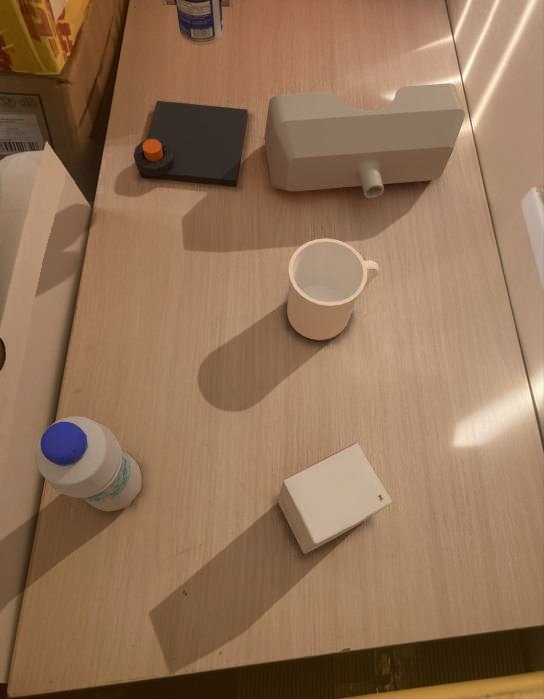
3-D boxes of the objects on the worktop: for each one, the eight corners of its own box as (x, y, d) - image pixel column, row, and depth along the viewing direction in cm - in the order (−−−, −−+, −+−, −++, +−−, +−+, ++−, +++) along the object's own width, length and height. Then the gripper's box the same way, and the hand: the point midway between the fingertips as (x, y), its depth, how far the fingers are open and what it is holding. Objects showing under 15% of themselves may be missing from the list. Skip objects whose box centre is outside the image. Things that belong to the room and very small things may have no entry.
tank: (277, 229, 75) (282, 164, 64) (263, 142, 81) (265, 70, 70) (449, 214, 77) (484, 149, 66) (423, 131, 84) (450, 58, 72)
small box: (338, 468, 62) (359, 440, 50) (367, 520, 59) (395, 503, 48) (275, 501, 60) (281, 479, 48) (302, 555, 58) (315, 547, 46)
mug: (294, 352, 67) (301, 313, 58) (275, 292, 71) (279, 247, 61) (376, 332, 69) (395, 291, 60) (353, 274, 72) (368, 228, 63)
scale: (134, 181, 78) (130, 166, 75) (153, 107, 84) (150, 91, 81) (235, 191, 78) (235, 176, 75) (247, 116, 84) (247, 100, 81)
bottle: (130, 443, 62) (79, 383, 44) (157, 494, 60) (115, 452, 42) (76, 475, 60) (-1, 426, 42) (102, 528, 58) (33, 500, 40)
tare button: (143, 161, 76) (140, 151, 74) (146, 147, 77) (144, 137, 75) (161, 163, 76) (159, 153, 74) (164, 149, 77) (162, 139, 75)
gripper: (296, -160, 51) (287, -12, 64) (79, -169, 51) (114, -18, 63) (297, -123, 49) (288, 23, 61) (69, -132, 48) (107, 17, 61)
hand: (198, 2), depth 62 cm, fingers closed on pill bottle, 5 cm apart
